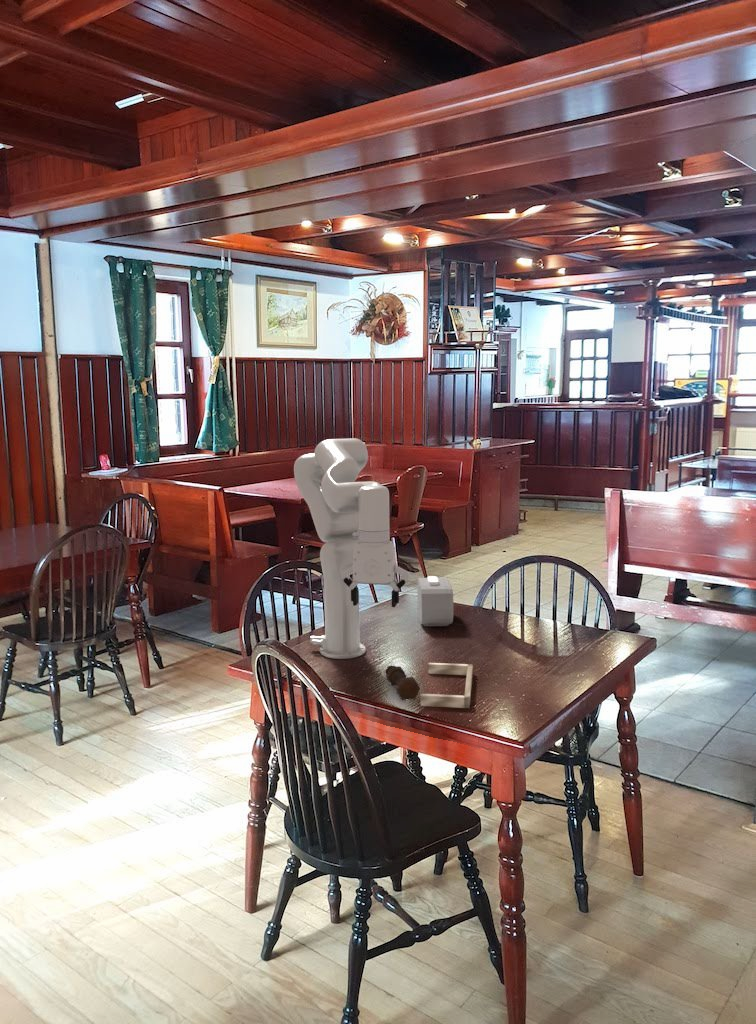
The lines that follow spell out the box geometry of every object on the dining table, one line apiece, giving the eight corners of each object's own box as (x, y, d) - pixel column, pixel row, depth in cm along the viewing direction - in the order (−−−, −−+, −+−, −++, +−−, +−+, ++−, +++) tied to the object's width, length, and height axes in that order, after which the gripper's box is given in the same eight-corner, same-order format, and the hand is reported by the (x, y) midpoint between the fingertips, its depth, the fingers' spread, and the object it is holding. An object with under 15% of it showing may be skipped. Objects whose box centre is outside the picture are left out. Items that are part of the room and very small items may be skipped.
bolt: (394, 684, 207) (412, 705, 193) (377, 677, 206) (394, 696, 191) (404, 664, 207) (423, 683, 193) (388, 656, 206) (405, 674, 192)
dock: (420, 705, 189) (420, 695, 188) (428, 671, 210) (428, 662, 210) (469, 708, 187) (469, 697, 187) (472, 673, 209) (472, 664, 208)
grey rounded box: (453, 630, 245) (453, 587, 243) (421, 630, 245) (421, 587, 243) (446, 611, 266) (446, 571, 264) (417, 611, 266) (417, 571, 263)
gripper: (335, 538, 196) (337, 607, 199) (406, 540, 193) (407, 610, 195) (343, 533, 203) (344, 599, 206) (411, 534, 200) (412, 602, 203)
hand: (375, 605), depth 201 cm, fingers open, 9 cm apart
